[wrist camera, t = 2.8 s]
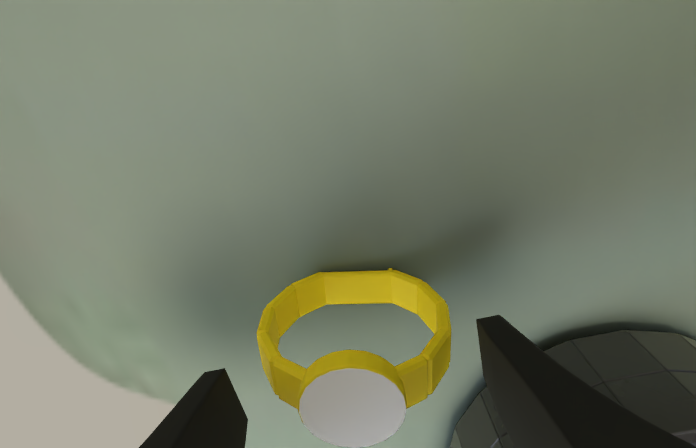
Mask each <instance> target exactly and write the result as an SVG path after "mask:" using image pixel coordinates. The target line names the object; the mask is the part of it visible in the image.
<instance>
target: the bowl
mask: <svg viewBox="0 0 696 448" xmlns="http://www.w3.org/2000/svg"><path fill="white" fill-rule="evenodd" d="M543 352H545V353H546V354H547V355H549V356H550V357H551V358H553V359H554V360H555V361H557V362H558V363H559V364H561V365H562V366H563V367H564V368H566V369H567V370H569V371H570V372H571V373H573V374H574V375H576V376H577V377H578V378H580V379H581V380H583V381H584V382H586V383H587V384H589V385H590V386H591V387H593V388H594V389H596V390H597V391H599V392H600V393H602V394H603V395H605V396H607V397H608V398H610V399H611V400H613V401H614V402H616V403H618V404H619V405H621V406H623V407H624V408H626V409H628V410H629V411H631V412H633V413H634V414H636V415H638V416H639V417H641V418H643V419H645V420H646V421H648V422H650V423H652V424H654V425H655V426H657V427H659V428H661V429H663V430H665V431H667V432H668V433H670V434H672V435H674V436H676V437H678V438H680V439H682V440H684V441H686V442H688V443H690V444H692V445H694V446H696V340H693V339H691V338H688V337H686V336H683V335H681V334H677V333H668V332H653V331H637V330H620V331H615V332H610V333H604V334H599V335H594V336H588V337H583V338H577V339H572V340H571V341H570V340H568V341H566V342H564V343H561V344H559V345H557V346H554V347H552V348H550V349H548V350H545V351H543ZM450 448H515V447H514V445H513V443H512V441H511V439H510V437H509V435H508V433H507V431H506V429H505V427H504V425H503V423H502V421H501V419H500V417H499V415H498V413H497V411H496V408H495V406H494V403H493V400H492V398H491V395H490V392H489V390H488V387H486V388H485V389H484V390H482V391H481V392H480V393H479V394H478V395H477V397H476V398H475V400H474V401H473V402H472V404H471V405H470V406H469V408H468V409H467V411H466V412H465V413H464V415H463V416H462V417H461V419H460V420H459V422H458V423H457V424H456V426H455V429H454V433H453V437H452V441H451V444H450Z"/></svg>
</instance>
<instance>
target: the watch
mask: <svg viewBox="0 0 696 448" xmlns="http://www.w3.org/2000/svg"><path fill="white" fill-rule="evenodd" d="M373 303H393V304H396V305H398V306H400V307H402V308H404V309H407V310H409V311H411V312H413V313H415V314H418V315H419V316H420V318H421V319H422V320H423V321H424V322H425V323H426V325H427V326H428V327H429V328H430V329H431V330H432V332H433V333H434V334H435V335H434V336H433V337H432V339H431V340H430V341H429V343H428V344H427V345H426V347H425V348H424V349H423V351H422V352H421V353H420V355H418V356H416V357H414V358H412V359H410V360H408V361H406V362H403V363H401V364H399V365H397V366H395V367H394V366H393V365H392V364H391V363H389V362H388V361H387V360H385V359H384V358H382V357H381V356H378V355H375V354H373V353H370V352H367V351H360V350H343V351H337V352H332V353H330V354H327V355H325V356H323V357H321V358H319V359H317V360H316V361H315V362H314V363H313V364H312V365H311V366H310V367H308V368H307V369H306V368H304V367H302V366H300V365H298V364H296V363H293V362H291V361H289V360H287V359H285V358H283V357H282V356H281V354H280V352H279V351H278V344H279V339H280V337H281V336H282V335H283V334H284V333H285V332H286V331H287V330H288V328H289V327H290V326H291V325H292V324H293V323H294V322H295V321H296V320H297V319H298V318H299V317H301V316H303V315H305V314H307V313H310V312H312V311H314V310H316V309H318V308H320V307H322V306H324V305H326V304H373ZM257 341H258V346H259V351H260V356H261V361H262V366H263V369H264V371H265V374H266V376H267V378H268V380H269V382H270V384H271V386H272V388H273V391H274V393H275V394H276V395H279V399H281V400H283V401H285V402H286V403H288V404H290V405H291V406H293V407H295V408H297V409H298V412H299V415H300V417H301V420H302V422H303V424H304V425H305V426H306V427H307V428H308V430H309V431H310V432H311V433H312V434H313V435H315V436H316V437H318V438H320V439H321V440H323V441H324V442H327V443H330V444H333V445H336V446H340V447H351V448H359V447H366V446H372V445H375V444H377V443H380V442H382V441H385V440H386V439H388V438H389V437H390V436H392V435H393V434H394V433H396V432H397V431H398V429H399V428H400V426H401V425H402V423H403V422H404V419H405V414H406V409H407V408H409V407H411V406H413V405H415V404H417V403H419V402H420V401H422V400H424V399H426V398H427V395H430V394H432V393H433V391H434V390H435V388H436V386H437V385H438V383H439V382H440V380H441V379H442V377H443V375H444V374H445V372H446V371H447V369H448V367H449V362H450V350H451V324H450V317H449V310H448V305H447V304H446V301H445V300H444V299H443V298H442V297H441V296H440V295H439V294H438V293H437V292H435V291H434V290H433V289H432V288H431V287H430V286H429V285H428V284H427V283H426V282H423V280H421V279H418V278H416V277H413V276H410V275H408V274H405V273H402V272H400V271H397V270H395V269H394V270H393V268H388V270H385V271H350V272H318V273H316V274H313V275H311V276H308V277H306V278H304V279H301V280H299V281H297V282H294V283H292V284H291V285H290V286H287V287H286V288H285V289H284V290H283V291H282V292H281V293H280V294H279V295H277V296H276V297H275V298H274V299H273V300H272V301H271V302H270V303H269V304H268V305H266V307H265V309H264V310H263V313H262V316H261V320H260V323H259V326H258V330H257Z"/></svg>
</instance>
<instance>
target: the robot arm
mask: <svg viewBox="0 0 696 448" xmlns="http://www.w3.org/2000/svg"><path fill="white" fill-rule="evenodd" d="M476 320H477V328H478V336H479V344H480V352H481V360H482V368H483V376H484V379H485V381H486V384H487V387H488V390H489V392H490V395H491V398H492V400H493V403H494V406H495V408H496V411H497V413H498V415H499V417H500V419H501V421H502V423H503V425H504V427H505V429H506V431H507V433H508V435H509V437H510V439H511V441H512V443H513V445H514V447H515V448H696V446H694V445H692V444H690V443H688V442H686V441H684V440H682V439H680V438H678V437H676V436H674V435H672V434H670V433H668V432H667V431H665V430H663V429H661V428H659V427H657V426H655V425H654V424H652V423H650V422H648V421H646V420H645V419H643V418H641V417H639V416H638V415H636V414H634V413H633V412H631V411H629V410H628V409H626V408H624V407H623V406H621V405H619V404H618V403H616V402H614V401H613V400H611V399H610V398H608V397H607V396H605V395H603V394H602V393H600V392H599V391H597V390H596V389H594V388H593V387H591V386H590V385H589V384H587V383H586V382H584V381H583V380H581V379H580V378H578V377H577V376H576V375H574V374H573V373H571V372H570V371H569V370H567V369H566V368H564V367H563V366H562V365H561V364H559V363H558V362H557V361H555V360H554V359H553V358H551V357H550V356H549V355H547V354H546V353H545V352H543V351H542V350H541V349H540V348H538V347H537V346H536V345H535V344H533V343H532V342H531V341H530V340H529V339H527V338H526V337H525V336H524V335H523V334H521V333H520V332H519V331H518V330H517V329H516V328H514V327H513V326H512V325H511V324H510V323H509V322H507V321H506V320H505V319H504V318H503V317H501V316H500V315H496V316H491V317H486V318H480V319H476ZM247 422H248V419H247V416H246V414H245V412H244V410H243V408H242V405H241V403H240V401H239V399H238V397H237V394H236V392H235V390H234V388H233V385H232V383H231V381H230V379H229V377H228V374H227V372H226V370H225V368H224V369H219V370H214V371H209V372H205V373H204V374H203V375H202V376H201V377H200V378H199V379H198V380H197V381H196V382H195V384H194V385H193V386H192V387H191V388H190V389H189V390H188V392H187V393H186V394H185V395H184V396H183V398H182V399H181V400H180V401H179V402H178V403H177V405H176V406H175V407H174V408H173V409H172V411H171V412H170V413H169V414H168V415H167V416H166V417H165V419H164V420H163V421H162V422H161V423H160V424H159V426H158V427H157V428H156V429H155V430H154V431H153V433H152V434H151V435H150V436H149V437H148V438H147V439H146V440H145V442H144V443H143V444H142V445H141V446H140V447H139V448H245V441H246V432H247Z"/></svg>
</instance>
